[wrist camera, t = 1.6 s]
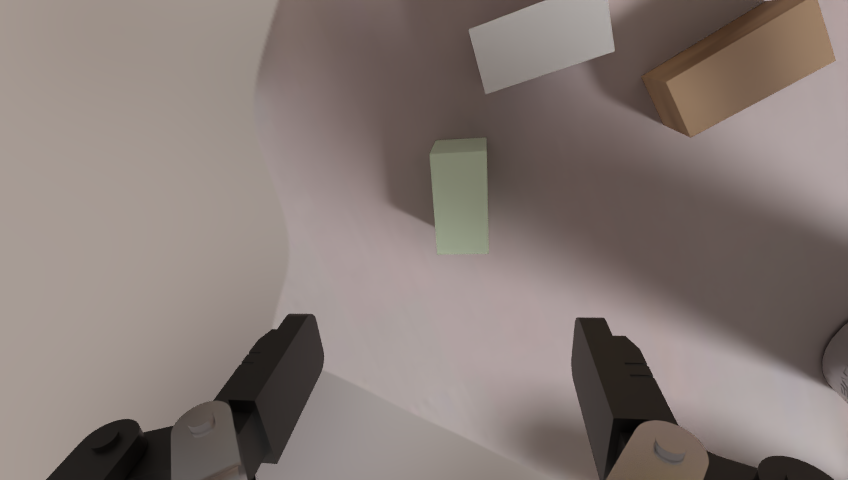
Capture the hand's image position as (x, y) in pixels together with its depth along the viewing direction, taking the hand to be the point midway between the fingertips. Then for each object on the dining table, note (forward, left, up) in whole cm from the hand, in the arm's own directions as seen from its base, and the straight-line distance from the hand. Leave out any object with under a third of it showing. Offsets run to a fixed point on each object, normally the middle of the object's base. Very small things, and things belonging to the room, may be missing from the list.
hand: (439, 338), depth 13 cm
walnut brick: (-13, -6, -15) cm, 21 cm away
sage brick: (0, 0, -15) cm, 15 cm away
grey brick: (-4, -8, -15) cm, 17 cm away
